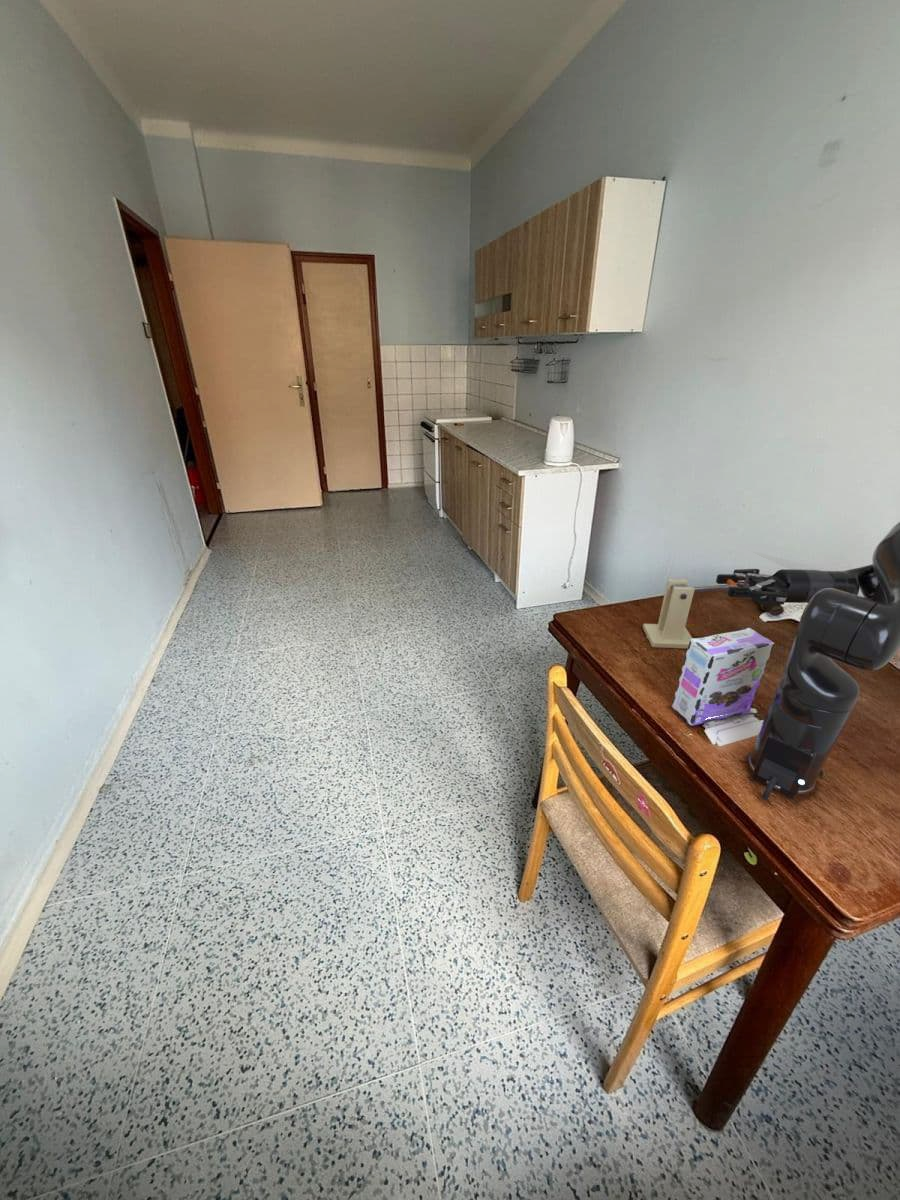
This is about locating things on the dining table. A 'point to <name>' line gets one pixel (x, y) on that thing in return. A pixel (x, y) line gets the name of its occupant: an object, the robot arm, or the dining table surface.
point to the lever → (710, 587)
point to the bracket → (672, 618)
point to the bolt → (770, 607)
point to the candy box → (721, 675)
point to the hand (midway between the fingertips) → (723, 585)
